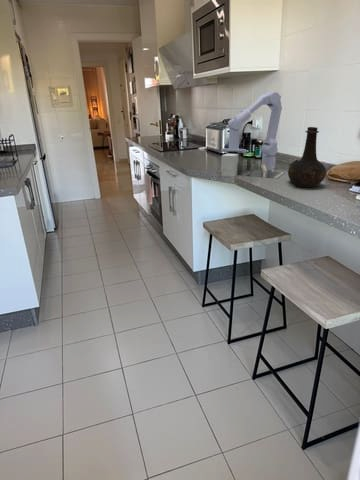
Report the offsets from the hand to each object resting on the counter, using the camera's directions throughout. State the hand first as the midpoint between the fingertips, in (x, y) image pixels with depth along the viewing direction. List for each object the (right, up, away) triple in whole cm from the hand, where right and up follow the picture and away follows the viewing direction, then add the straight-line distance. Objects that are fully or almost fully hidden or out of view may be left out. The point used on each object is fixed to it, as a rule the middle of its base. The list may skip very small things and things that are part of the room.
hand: (233, 165), depth 200 cm
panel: (+17, -8, -8) cm, 21 cm away
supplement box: (-3, -9, -7) cm, 11 cm away
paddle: (+17, -7, -8) cm, 20 cm away
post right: (+10, -3, +4) cm, 11 cm away
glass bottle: (+32, -17, -29) cm, 46 cm away
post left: (+3, -8, -7) cm, 11 cm away
